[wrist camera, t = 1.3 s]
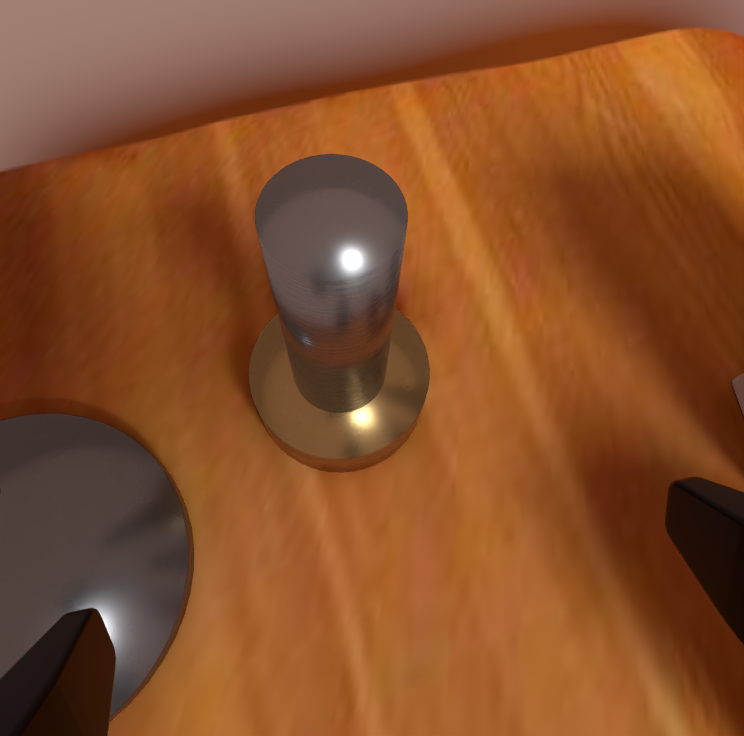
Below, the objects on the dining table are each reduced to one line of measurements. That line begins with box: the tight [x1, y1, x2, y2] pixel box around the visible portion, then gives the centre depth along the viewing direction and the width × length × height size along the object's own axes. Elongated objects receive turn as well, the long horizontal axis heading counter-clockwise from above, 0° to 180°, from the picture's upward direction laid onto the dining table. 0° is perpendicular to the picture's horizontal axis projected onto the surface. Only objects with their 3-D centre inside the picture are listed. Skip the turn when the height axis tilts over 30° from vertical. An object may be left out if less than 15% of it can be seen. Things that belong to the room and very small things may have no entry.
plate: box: [0, 413, 194, 722], centre depth 21 cm, size 12×12×1 cm
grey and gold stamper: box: [249, 154, 429, 472], centre depth 19 cm, size 7×7×12 cm
